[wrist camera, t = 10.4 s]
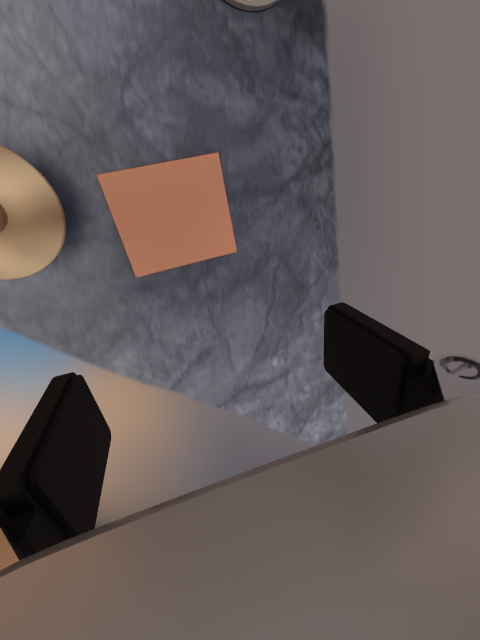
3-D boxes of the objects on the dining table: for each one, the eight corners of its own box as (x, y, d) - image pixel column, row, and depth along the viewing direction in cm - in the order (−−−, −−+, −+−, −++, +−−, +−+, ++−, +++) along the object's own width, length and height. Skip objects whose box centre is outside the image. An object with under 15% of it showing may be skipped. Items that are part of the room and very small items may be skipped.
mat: (97, 175, 30) (96, 175, 29) (217, 153, 32) (218, 152, 32) (136, 276, 35) (136, 277, 35) (235, 250, 38) (237, 251, 37)
